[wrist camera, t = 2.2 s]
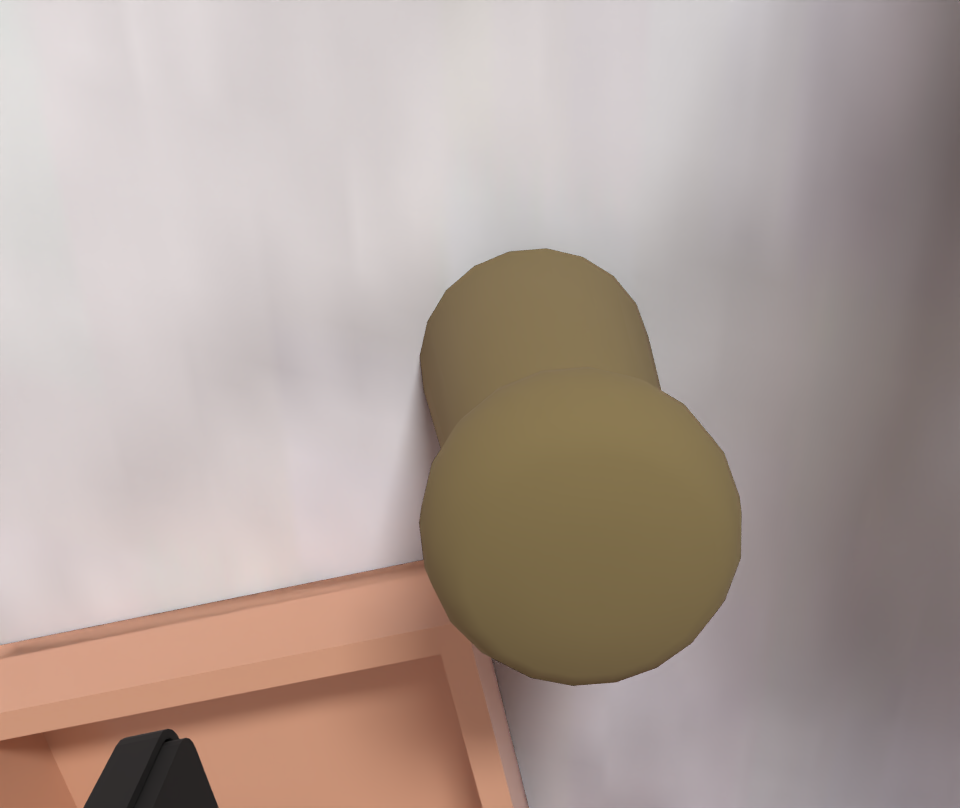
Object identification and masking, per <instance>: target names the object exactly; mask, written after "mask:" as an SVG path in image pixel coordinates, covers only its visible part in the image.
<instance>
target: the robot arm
mask: <svg viewBox="0 0 960 808" xmlns="http://www.w3.org/2000/svg"><path fill="white" fill-rule="evenodd" d="M83 808H219V807H218V805H217V802H216V799H215V797H214V794H213V792H212V789H211V786H210V784H209V781H208V778H207V776H206V773H205V771H204V768H203V765H202V763H201V760H200V758H199V755H198V752H197V750H196V747H195V745H194V743H193V742H192V741H191V740H190V739H189V738H182V739H179V737H178V735H177V734H176V733H175V732H174V731H173V730H171V729H164V730H159V731H154V732H150V733H145V734H140V735H135V736H130V737H125V738H123V739H121V740H120V741H119V742H118V744H117V745H116V747H115V748H114V750H113V752H112V754H111V756H110V758H109V760H108V762H107V764H106V765H105V767H104V769H103V771H102V773H101V775H100V777H99V779H98V781H97V783H96V784H95V786H94V788H93V790H92V792H91V794H90V796H89V798H88V800H87V801H86V803H85V805H84V807H83Z"/></svg>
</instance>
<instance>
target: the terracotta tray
mask: <svg viewBox="0 0 960 808" xmlns="http://www.w3.org/2000/svg"><path fill="white" fill-rule="evenodd" d="M164 729H171V730H173V731H174V732H175V733H176V734H177V735H178V737H179V739H182V738H189V739H190V740H191V741H192V742H193V743H194V745H195V747H196V750H197V752H198V755H199V758H200V760H201V763H202V765H203V768H204V771H205V773H206V776H207V778H208V781H209V784H210V786H211V789H212V792H213V794H214V797H215V799H216V802H217V805H218V807H219V808H529V806H528V802H527V798H526V794H525V790H524V786H523V782H522V778H521V774H520V770H519V766H518V762H517V758H516V754H515V750H514V746H513V742H512V738H511V734H510V730H509V726H508V722H507V718H506V714H505V710H504V706H503V702H502V698H501V694H500V690H499V686H498V682H497V678H496V674H495V670H494V666H493V662H492V658H491V657H489V656H487V655H485V654H483V653H481V652H480V651H479V650H478V649H477V648H476V647H475V646H474V645H473V644H472V643H471V642H470V641H469V640H468V639H467V638H466V637H465V636H464V635H463V634H462V633H461V632H460V631H459V630H458V629H457V628H456V627H455V626H454V625H453V624H452V623H451V622H450V620H449V618H448V616H447V614H446V612H445V610H444V608H443V606H442V604H441V602H440V600H439V598H438V596H437V594H436V592H435V590H434V588H433V586H432V584H431V582H430V580H429V577H428V575H427V573H426V570H425V568H424V560H420V561H415V562H411V563H406V564H401V565H396V566H391V567H386V568H381V569H376V570H371V571H366V572H361V573H356V574H351V575H346V576H341V577H336V578H331V579H326V580H321V581H316V582H311V583H306V584H302V585H297V586H292V587H287V588H282V589H277V590H272V591H267V592H262V593H257V594H252V595H247V596H242V597H237V598H232V599H227V600H222V601H217V602H212V603H207V604H202V605H197V606H193V607H188V608H183V609H178V610H173V611H168V612H163V613H158V614H153V615H148V616H143V617H138V618H133V619H128V620H123V621H118V622H113V623H108V624H103V625H98V626H93V627H88V628H84V629H79V630H74V631H69V632H64V633H59V634H54V635H49V636H44V637H39V638H34V639H29V640H24V641H19V642H14V643H9V644H4V645H0V808H83V807H84V805H85V803H86V801H87V800H88V798H89V796H90V794H91V792H92V790H93V788H94V786H95V784H96V783H97V781H98V779H99V777H100V775H101V773H102V771H103V769H104V767H105V765H106V764H107V762H108V760H109V758H110V756H111V754H112V752H113V750H114V748H115V747H116V745H117V744H118V742H119V741H120V740H121V739H123V738H125V737H130V736H135V735H140V734H145V733H150V732H154V731H159V730H164Z"/></svg>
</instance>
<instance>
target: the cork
mask: <svg viewBox="0 0 960 808" xmlns="http://www.w3.org/2000/svg"><path fill="white" fill-rule="evenodd" d="M420 362H421V371H422V380H423V389H424V393H425V397H426V400H427V403H428V407H429V410H430V414H431V417H432V420H433V424H434V427H435V431H436V434H437V438H438V441H439V444H440V448H441V450H440V451H439V453H438V454H437V456H436V457H435V459H434V460H433V462H432V464H431V469H430V473H429V477H428V481H427V486H426V490H425V494H424V498H423V502H422V507H421V514H420V521H419V525H420V534H421V542H422V551H423V560H424V568H425V570H426V573H427V575H428V577H429V580H430V582H431V584H432V586H433V588H434V590H435V592H436V594H437V596H438V598H439V600H440V602H441V604H442V606H443V608H444V610H445V612H446V614H447V616H448V618H449V620H450V622H451V623H452V624H453V625H454V626H455V627H456V628H457V629H458V630H459V631H460V632H461V633H462V634H463V635H464V636H465V637H466V638H467V639H468V640H469V641H470V642H471V643H472V644H473V645H474V646H475V647H476V648H477V649H478V650H479V651H480V652H481V653H483V654H485V655H487V656H489V657H491V658H493V659H495V660H497V661H499V662H501V663H503V664H505V665H507V666H509V667H511V668H513V669H515V670H517V671H518V672H520V673H522V674H524V675H526V676H528V677H530V678H534V679H540V680H545V681H550V682H556V683H561V684H566V685H572V686H576V685H588V684H601V683H613V682H618V681H621V680H624V679H626V678H629V677H632V676H635V675H638V674H640V673H643V672H646V671H649V670H652V669H654V668H657V667H658V666H660V665H661V664H663V663H664V662H665V661H667V660H668V659H670V658H671V657H673V656H674V655H675V654H677V653H678V652H680V651H681V650H683V649H684V648H685V647H687V646H688V645H690V644H691V643H692V642H693V641H694V640H695V638H696V637H697V636H698V634H699V633H700V632H701V631H702V629H703V628H704V627H705V626H706V624H707V623H708V622H709V621H710V619H711V618H712V617H713V616H714V614H715V613H716V612H717V611H718V609H719V608H720V606H721V605H722V603H723V602H724V601H725V599H726V596H727V593H728V591H729V588H730V585H731V583H732V580H733V577H734V575H735V572H736V569H737V567H738V564H739V561H740V559H741V505H740V497H739V494H738V491H737V488H736V485H735V482H734V480H733V477H732V474H731V471H730V468H729V465H728V463H727V460H726V457H725V454H724V452H723V451H722V450H721V449H720V447H719V446H718V445H717V443H716V442H715V441H714V440H713V438H712V437H711V436H710V435H709V434H708V432H707V431H706V430H705V429H704V428H703V426H702V425H701V424H700V423H699V422H698V420H697V419H696V418H695V417H694V416H693V414H692V413H691V412H690V411H689V409H688V408H687V407H686V406H685V405H684V404H683V403H681V402H679V401H678V400H676V399H674V398H673V397H671V396H669V395H668V394H666V393H664V392H663V391H661V387H660V383H659V379H658V375H657V371H656V367H655V363H654V359H653V355H652V350H651V346H650V342H649V338H648V335H647V332H646V329H645V327H644V324H643V321H642V318H641V316H640V313H639V310H638V308H637V305H636V303H635V302H634V301H633V299H632V298H631V297H630V296H629V294H628V293H627V292H626V291H625V290H624V288H623V287H622V286H621V285H620V283H619V282H618V281H617V280H616V279H615V277H614V276H612V275H611V274H609V273H608V272H606V271H604V270H603V269H601V268H600V267H598V266H596V265H595V264H593V263H591V262H590V261H588V260H587V259H585V258H583V257H580V256H576V255H572V254H568V253H563V252H559V251H555V250H551V249H535V250H523V251H511V252H507V253H505V254H502V255H500V256H497V257H495V258H493V259H490V260H488V261H486V262H483V263H481V264H478V265H476V266H474V267H473V268H472V269H471V270H469V271H468V272H467V273H466V274H465V275H464V276H462V277H461V278H460V279H459V280H458V281H457V282H455V283H454V284H453V285H452V286H451V287H450V288H448V289H447V290H446V292H445V293H444V295H443V297H442V298H441V300H440V302H439V303H438V305H437V307H436V308H435V310H434V311H433V313H432V315H431V316H430V318H429V320H428V322H427V326H426V331H425V335H424V340H423V344H422V348H421V353H420Z"/></svg>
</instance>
